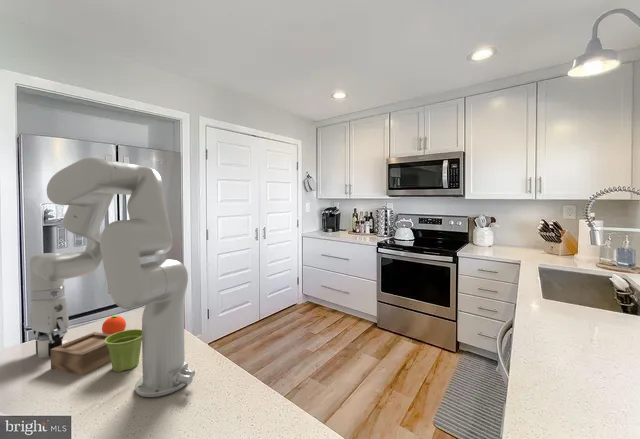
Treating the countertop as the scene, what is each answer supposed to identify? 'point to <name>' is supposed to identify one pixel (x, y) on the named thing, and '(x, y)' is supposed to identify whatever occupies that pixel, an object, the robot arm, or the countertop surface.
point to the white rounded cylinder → (43, 345)
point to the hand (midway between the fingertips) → (49, 352)
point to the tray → (81, 354)
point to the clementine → (114, 325)
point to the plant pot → (124, 349)
